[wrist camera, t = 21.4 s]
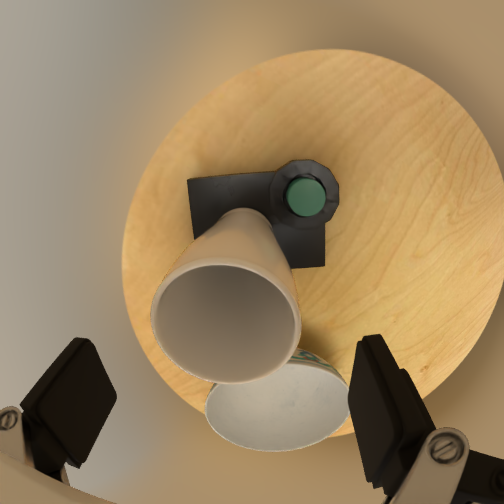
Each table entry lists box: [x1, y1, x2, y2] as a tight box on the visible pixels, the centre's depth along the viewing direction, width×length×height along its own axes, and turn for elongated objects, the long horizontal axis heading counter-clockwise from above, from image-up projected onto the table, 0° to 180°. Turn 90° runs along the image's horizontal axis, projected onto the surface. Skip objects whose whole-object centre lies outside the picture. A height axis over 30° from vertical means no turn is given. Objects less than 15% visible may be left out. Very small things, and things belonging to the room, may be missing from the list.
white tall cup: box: [150, 208, 302, 385], centre depth 19 cm, size 7×7×15 cm
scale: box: [187, 160, 339, 269], centre depth 25 cm, size 10×13×3 cm
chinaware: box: [205, 348, 350, 452], centre depth 29 cm, size 15×15×8 cm
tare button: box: [286, 177, 326, 216], centre depth 23 cm, size 3×3×2 cm
